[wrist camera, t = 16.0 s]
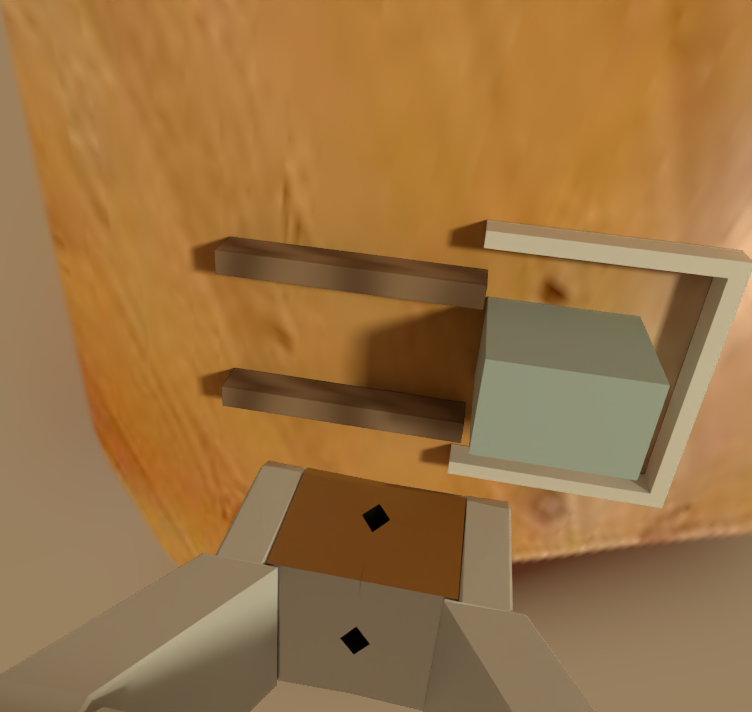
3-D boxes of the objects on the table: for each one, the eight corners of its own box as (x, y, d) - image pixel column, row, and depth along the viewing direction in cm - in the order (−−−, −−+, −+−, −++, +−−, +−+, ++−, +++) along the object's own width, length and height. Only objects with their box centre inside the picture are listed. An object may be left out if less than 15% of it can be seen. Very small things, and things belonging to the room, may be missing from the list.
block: (473, 379, 43) (468, 453, 36) (488, 296, 40) (485, 359, 33) (614, 400, 42) (637, 480, 35) (640, 316, 39) (670, 385, 32)
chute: (235, 386, 46) (222, 405, 44) (229, 236, 41) (214, 250, 39) (462, 421, 44) (460, 442, 42) (488, 269, 39) (487, 285, 37)
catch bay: (449, 455, 46) (447, 473, 44) (487, 219, 38) (486, 230, 36) (655, 488, 44) (661, 508, 43) (742, 250, 36) (754, 263, 34)
